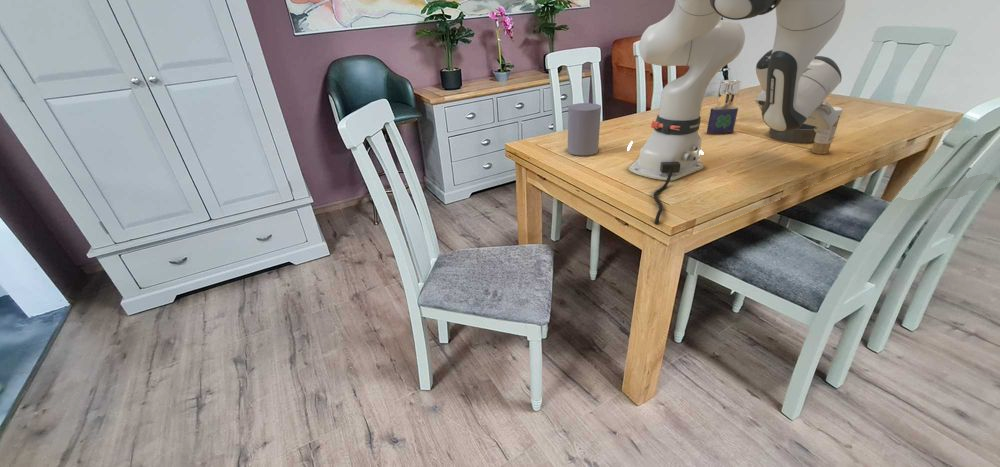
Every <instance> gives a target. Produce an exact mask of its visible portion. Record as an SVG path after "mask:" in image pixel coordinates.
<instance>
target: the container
mask: <svg viewBox="0 0 1000 467" xmlns="http://www.w3.org/2000/svg"><path fill="white" fill-rule="evenodd" d="M601 112H602V106H601V105H600V104H598V103H593V102H580V103H574V104H570V105H569V106H568V112H567V114H568V116H567V150H566V151H567V153H568V154H570V155H573V156H575V157H589V156H594V155H596V154H597V153H599V145H600V144H599V143H600V142H599V141H600V130H601V129H600V127H601Z"/></svg>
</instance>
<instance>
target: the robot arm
mask: <svg viewBox="0 0 1000 467" xmlns="http://www.w3.org/2000/svg"><path fill="white" fill-rule="evenodd" d="M773 10H775V14H776V27H775V28H776V29H775V35H774V40H773V41H774V42H773V45H772V49H770V50H768V51H767V52H765V53H764V55H762V56H761V57H760V59H758V61H757V63H756V65H755V74H756V77H757V79H758V82H759V84H760V86H761V88H762V91H760V93H759V94H758V95H757V96H756V98H755V99H754V101H755V103H756V105H757V106H758V108H759V110H760V111H761V118H762V121H763V123H765V125H766V126H767V127H768V128H769V129H770V128H771V129H773V130H775V131H779V132H787V131H792V130H796V129H799V128H800V127H801V126H802V125H803V124H807V125H812V126H816V127H815V128H814V130H815V132H818V133H822V131H823V130H824V129H829V128H830V127H832V126H833V125H834V124H835V123H836V121H837V120H838V115H837V113H836V112H835V110H834V108H833V107H834V106H833V105H831V104H830V103H829V102H828V101H825V100H827V98H828V97H829V96H830V95H831V94H832V92H834V90H835V89H836V88H837V87H838V86H839V85H840V84H841V83H842V80H843V79H842V76H843V75H842V72H841V69H840V67H839V66H838V64H837V63H836V61H834V59H832V58H830V57H828V56H822V55H819V53H821V51H822V50H823V48H824V47H825V46H826V45H827V44H828V43H829V41H831V39H832V38H833V37H834V35H835V34H836V33H837V31H838V29H839V27H840V25H841V22H842V20H843V18H844V14H845V12H846V11H845V10H846V0H675V1H674V5H673V8H672V10H671V12H670V13H669V14H668V15H667V16H665V17H664V18H662V19H661V20H659V21H658V22H656V23H654V24H650V25H649V26H648V27H646V29H645V30H644V31H643V33H642V34H641V36H640V40H639V44H638V50H639V54H640V57H641V59H642V60H643V62H644V63H645V64H648V65H649V64H650V65H654V66H660V67H677V66H679V67H682V66H683V67H685V66H686V67H689V68H688V69H687V71H686V73H684V74H683V75H682V76H680V77H678V78H675V79H673V80H671V81H669V82H668V83H667V84H665V86H664V87H663V88H662V91H661V94H660V101H659V102H660V103H659V109H658V110H659V111H658V114H657V116H656V119H655V120H652V121H651V123H650V128H651V129H653V130H652V132H651V134H650V135H649V137H648V138H647V140H646V141H645V142H644V144H643V145H642V147H641V149H640V150H639V155H638V158H637V159H636V160H635V161H634V162H633V163H632V164H631V165H630V166H629V168H628V171H629V172H631V173H633V174H636V175H638V176H641V177H644V178H650V179H653V180H660V181H665V183H664V184H663V185H662V186H661V187H660V188H658V189H657V190H655V191H654V193H653V199H654V201H655V202H656V204H657V205H658V211H657V213H656V216H655V219H654V225H655V226H658V225H659V223H660V222H659V221H660V218H661V215H662V212H663V209H664V208H663V204H662V202H661V201H660V199H659V198H658V194H660V193H661V192H662V191H664V190H665V189H666V188H667V186H668V185H669V183H670V181H672V182H673V181H677V180H678V179H681V178H683V177H685V176H688V175H691V174H694V173H695V172H698V171H701V170H703V169H704V164H703V163H702V162H700V158H701V155H702V156H703V155H704V152H703V151H702V142H703V141H702V137H700V134H699V130H700V126H701V121H702V120H701V118H702V117H701V116H700V115H701V110H702V105H703V103H704V102H703V101H704V98H705V94H706V92H707V88H708V86H709V85H710V83H711V81H712V80H713V78H714V77H715V76H716V75H717V74H718V73H719V72H720V70H722V69H723V68H724V67H726V65H728V64H730V63H732V62H733V61H735V60H736V58H737V57H738V56H739V55H740V54H741V53H742V51H743V48H744V46H745V41H746V34H745V29H744V27H743V26H742V24H741V23H740V22H737V21H740V20H747V19H752V18H755V17H757V16H763V15H766V14H769V13H770V12H772V11H773ZM722 18H724V19H722ZM731 20H732V21H731ZM632 145H633V141H632V140H631V141H630V143H629V144H628V146H627V150H626V151H627V152H629V151H630V149H631V147H632Z"/></svg>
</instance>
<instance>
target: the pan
mask: <svg viewBox="0 0 1000 467" xmlns="http://www.w3.org/2000/svg"><path fill="white" fill-rule="evenodd" d="M815 127H816V126H812V125H807V124H803V125H802V126H801V127H800V128H799V129H796V130H792V131H787V132H779V131H775V130H773V129H771V128H770V127H769V129H768V137H770V139H774V140H776V141H779V142H784V143H789V144H814V140H815V136H816V133H817V132H815V130H814V128H815Z"/></svg>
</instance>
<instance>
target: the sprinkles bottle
mask: <svg viewBox="0 0 1000 467" xmlns="http://www.w3.org/2000/svg"><path fill="white" fill-rule="evenodd" d="M832 107H833V108H834V110H835V112H836V113H837V115H838V120H837V121H836V123H835V124H834V125H833V126H832V127H830V128H829V129H824V130H823V131H822V133H818V132H817V133H816V136H815V140H814V143H812V147H811V149H810V152H812V153H814V154H817V155H827V154H829V153H830V148H831V145H832V143H833V140H834V137H835V135H836V134H835V133H836V131H837V128H838V123H839V120H840V118H841V116H842V114H843V111H844V110H843V108H842V107H838V106H832Z"/></svg>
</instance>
